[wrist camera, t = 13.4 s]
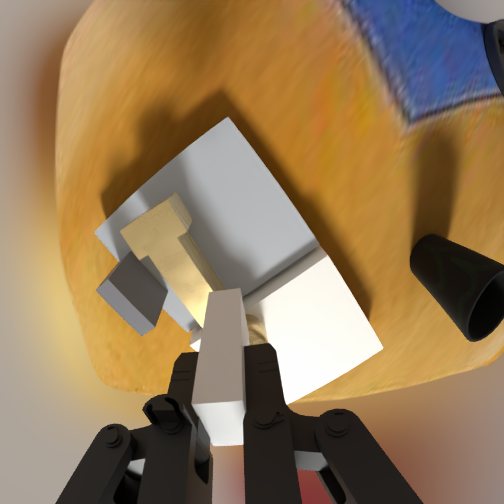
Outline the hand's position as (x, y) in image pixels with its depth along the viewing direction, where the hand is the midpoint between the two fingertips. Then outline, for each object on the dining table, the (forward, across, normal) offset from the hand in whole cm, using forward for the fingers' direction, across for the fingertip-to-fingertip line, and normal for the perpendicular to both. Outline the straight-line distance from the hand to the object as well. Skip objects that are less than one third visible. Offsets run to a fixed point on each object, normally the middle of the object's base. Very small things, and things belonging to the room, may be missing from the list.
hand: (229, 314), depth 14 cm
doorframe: (+14, +1, -6) cm, 15 cm away
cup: (+14, +22, -6) cm, 27 cm away
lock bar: (+8, -2, -3) cm, 9 cm away
